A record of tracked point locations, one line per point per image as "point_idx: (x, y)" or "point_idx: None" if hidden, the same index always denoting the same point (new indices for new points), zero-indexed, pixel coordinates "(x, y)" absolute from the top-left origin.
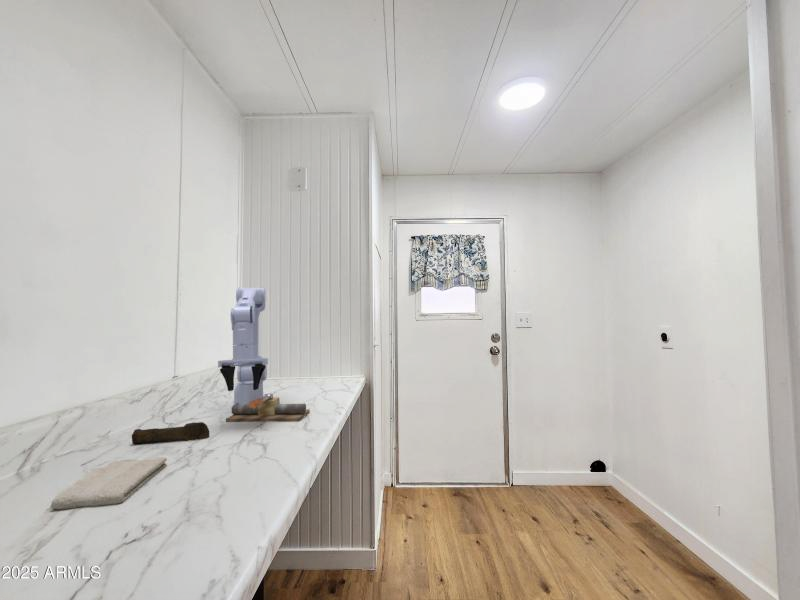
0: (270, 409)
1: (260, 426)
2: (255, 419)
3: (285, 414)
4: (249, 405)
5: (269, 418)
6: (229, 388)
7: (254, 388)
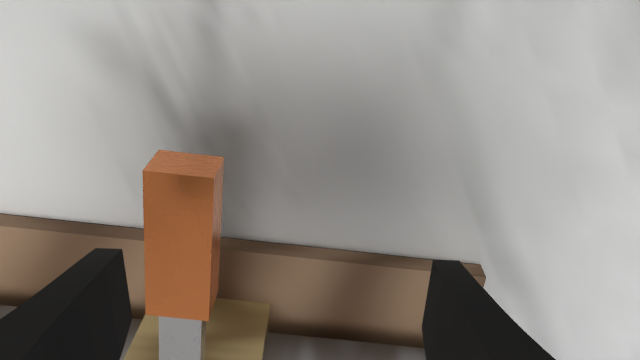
0: None
1: (185, 134)
2: (267, 250)
3: None
4: (214, 164)
5: None
6: (447, 272)
7: (100, 256)
